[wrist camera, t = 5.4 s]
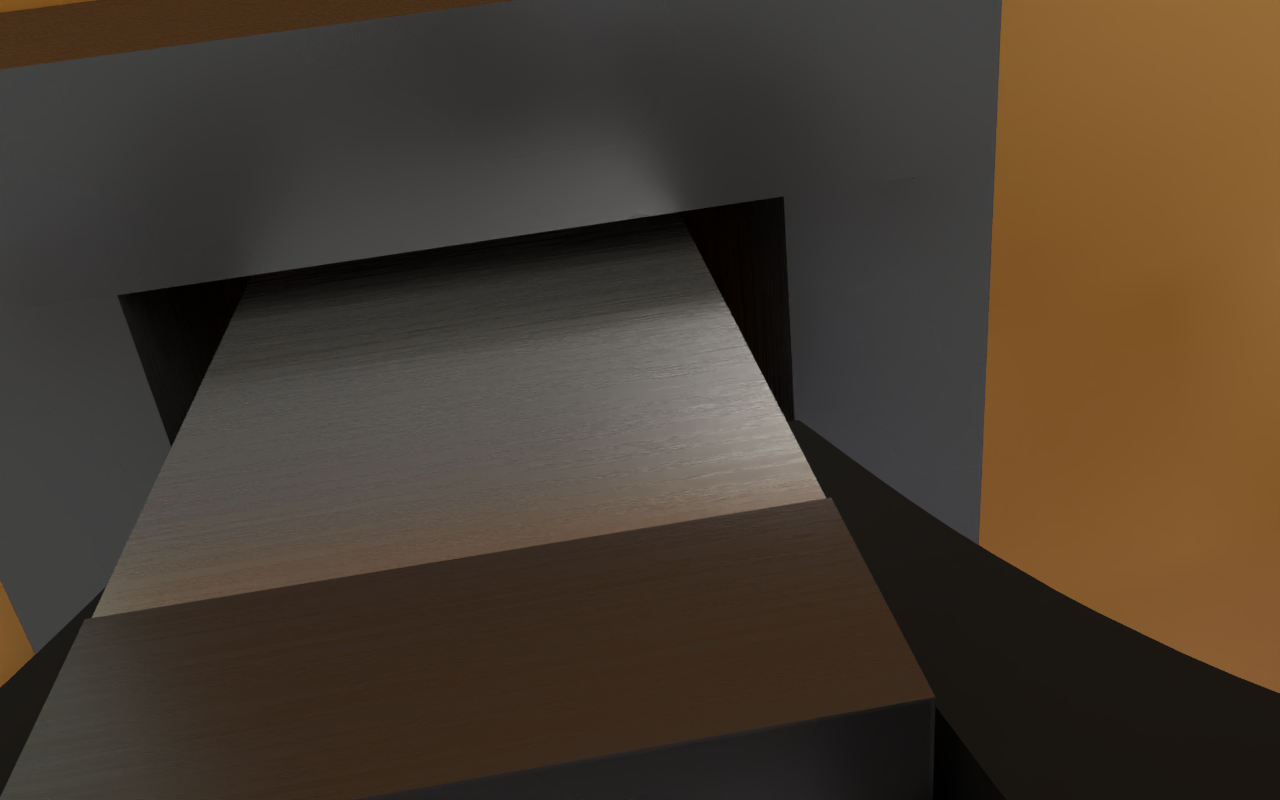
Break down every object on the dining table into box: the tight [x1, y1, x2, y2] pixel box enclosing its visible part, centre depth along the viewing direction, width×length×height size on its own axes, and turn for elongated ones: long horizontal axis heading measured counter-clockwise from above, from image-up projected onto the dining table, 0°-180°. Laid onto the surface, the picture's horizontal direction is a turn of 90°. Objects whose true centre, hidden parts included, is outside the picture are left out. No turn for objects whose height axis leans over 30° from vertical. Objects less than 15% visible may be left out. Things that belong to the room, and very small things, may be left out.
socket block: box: [0, 0, 1002, 655], centre depth 12 cm, size 9×9×4 cm
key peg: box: [0, 212, 936, 800], centre depth 9 cm, size 4×4×8 cm
